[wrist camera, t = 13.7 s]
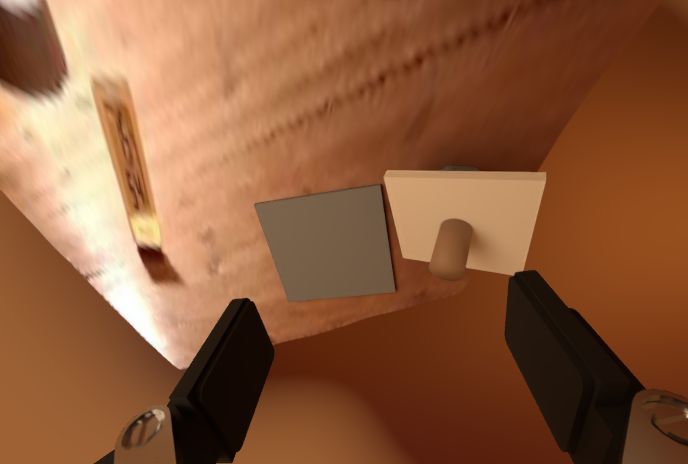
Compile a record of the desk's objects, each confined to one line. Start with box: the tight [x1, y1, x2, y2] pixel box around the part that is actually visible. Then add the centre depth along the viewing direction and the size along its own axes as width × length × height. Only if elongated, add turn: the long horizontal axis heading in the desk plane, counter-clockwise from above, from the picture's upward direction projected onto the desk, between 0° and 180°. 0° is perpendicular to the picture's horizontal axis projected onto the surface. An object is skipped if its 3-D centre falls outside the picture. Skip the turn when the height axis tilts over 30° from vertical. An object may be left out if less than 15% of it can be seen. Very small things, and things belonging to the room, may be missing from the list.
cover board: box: [384, 170, 546, 281], centre depth 32 cm, size 15×15×7 cm
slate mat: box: [254, 184, 395, 302], centre depth 49 cm, size 20×20×1 cm
